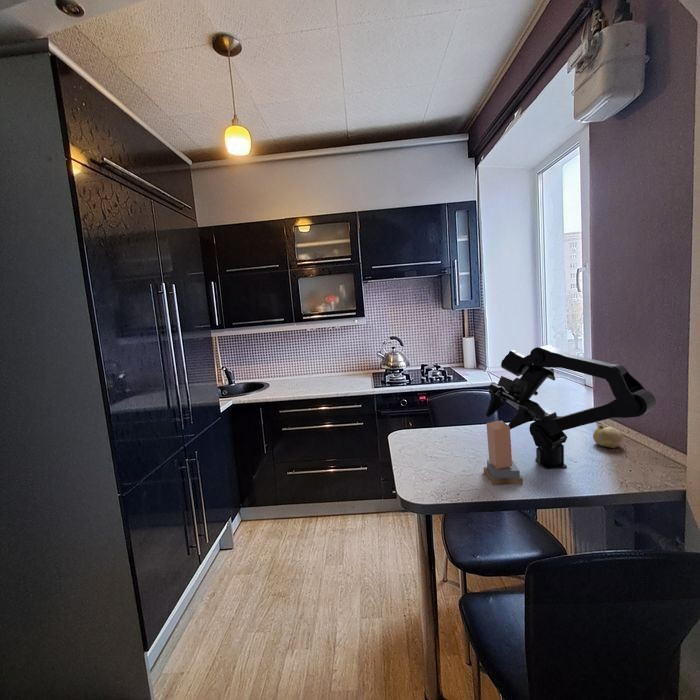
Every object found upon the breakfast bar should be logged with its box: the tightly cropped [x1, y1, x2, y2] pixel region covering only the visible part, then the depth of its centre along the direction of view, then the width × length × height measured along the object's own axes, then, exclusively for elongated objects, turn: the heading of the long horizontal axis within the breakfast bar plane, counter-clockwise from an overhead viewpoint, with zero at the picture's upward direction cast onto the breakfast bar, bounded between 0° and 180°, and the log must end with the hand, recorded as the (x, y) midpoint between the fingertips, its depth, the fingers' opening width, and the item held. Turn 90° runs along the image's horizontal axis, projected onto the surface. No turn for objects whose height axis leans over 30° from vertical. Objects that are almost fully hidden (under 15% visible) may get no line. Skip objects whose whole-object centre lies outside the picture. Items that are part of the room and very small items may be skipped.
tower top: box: [486, 459, 521, 479], centre depth 105 cm, size 7×7×2 cm
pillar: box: [485, 419, 513, 469], centre depth 103 cm, size 4×4×12 cm
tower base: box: [483, 466, 524, 486], centre depth 105 cm, size 8×8×2 cm
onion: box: [592, 423, 624, 449], centre depth 121 cm, size 8×8×7 cm
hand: (497, 422), depth 111 cm, fingers open, 9 cm apart
